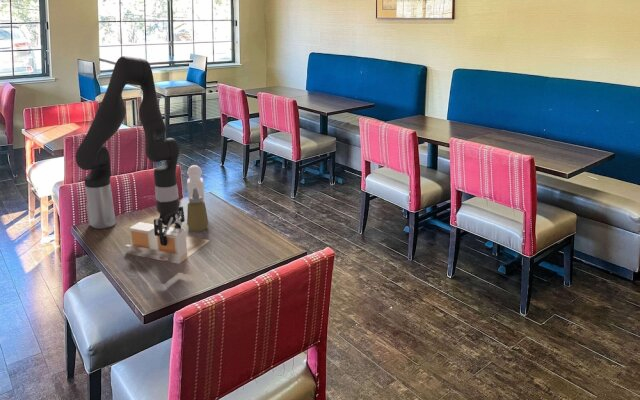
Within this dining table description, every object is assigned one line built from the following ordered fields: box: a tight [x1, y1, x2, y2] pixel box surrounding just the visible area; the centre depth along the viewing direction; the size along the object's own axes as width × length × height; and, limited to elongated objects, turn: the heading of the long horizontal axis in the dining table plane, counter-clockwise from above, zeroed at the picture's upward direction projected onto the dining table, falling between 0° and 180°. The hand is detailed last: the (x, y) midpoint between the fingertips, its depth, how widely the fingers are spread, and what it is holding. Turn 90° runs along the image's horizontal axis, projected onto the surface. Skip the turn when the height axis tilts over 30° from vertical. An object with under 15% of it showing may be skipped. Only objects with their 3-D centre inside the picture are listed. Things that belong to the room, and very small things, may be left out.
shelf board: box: [124, 235, 211, 264], centre depth 197 cm, size 22×20×4 cm
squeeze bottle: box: [186, 188, 209, 232], centre depth 211 cm, size 8×8×18 cm
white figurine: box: [186, 164, 205, 203], centre depth 225 cm, size 6×6×22 cm
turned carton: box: [157, 226, 187, 258], centre depth 190 cm, size 6×8×9 cm
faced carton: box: [128, 221, 159, 250], centre depth 194 cm, size 6×8×9 cm
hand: (171, 240), depth 190 cm, fingers open, 8 cm apart
